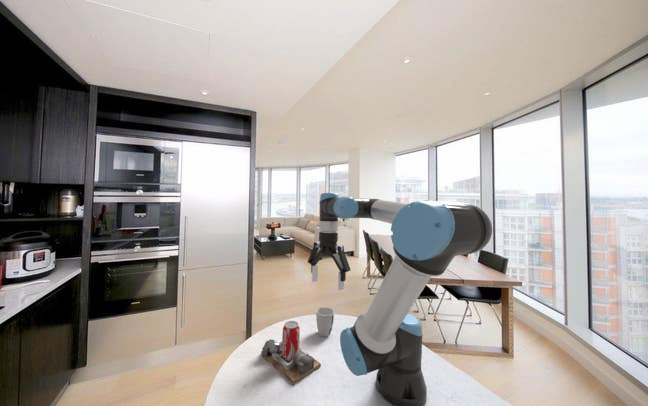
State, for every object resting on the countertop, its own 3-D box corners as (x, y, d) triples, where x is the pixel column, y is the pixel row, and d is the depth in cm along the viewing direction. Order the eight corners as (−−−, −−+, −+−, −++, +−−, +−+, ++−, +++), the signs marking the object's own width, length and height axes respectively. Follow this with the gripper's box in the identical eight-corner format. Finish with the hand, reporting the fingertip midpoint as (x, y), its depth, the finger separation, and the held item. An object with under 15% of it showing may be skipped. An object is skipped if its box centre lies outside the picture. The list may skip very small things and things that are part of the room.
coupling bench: (320, 366, 81) (321, 352, 81) (293, 384, 73) (294, 368, 73) (287, 341, 96) (287, 329, 96) (261, 354, 87) (261, 340, 87)
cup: (333, 339, 99) (334, 315, 99) (314, 338, 99) (315, 315, 99) (333, 329, 107) (334, 307, 107) (315, 328, 107) (316, 306, 107)
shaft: (282, 350, 88) (283, 339, 88) (276, 359, 83) (276, 348, 83) (269, 347, 90) (269, 337, 90) (262, 356, 84) (262, 345, 84)
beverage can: (295, 364, 81) (296, 330, 81) (278, 361, 82) (280, 327, 82) (301, 353, 87) (302, 321, 87) (285, 350, 88) (286, 319, 88)
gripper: (360, 233, 87) (359, 290, 86) (312, 228, 103) (311, 276, 103) (348, 235, 81) (347, 296, 81) (300, 229, 98) (298, 280, 97)
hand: (327, 285), depth 92 cm, fingers open, 13 cm apart
